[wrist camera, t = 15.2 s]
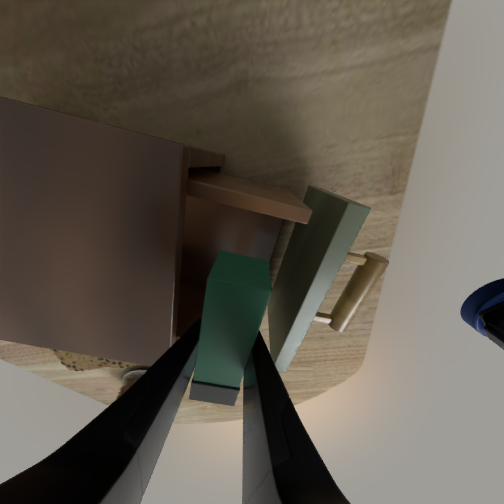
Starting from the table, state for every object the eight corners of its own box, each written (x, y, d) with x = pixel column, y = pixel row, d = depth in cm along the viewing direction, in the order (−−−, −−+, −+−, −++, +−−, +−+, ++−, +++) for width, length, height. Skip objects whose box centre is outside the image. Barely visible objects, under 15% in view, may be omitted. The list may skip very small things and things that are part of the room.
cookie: (140, 362, 29) (137, 368, 28) (72, 367, 30) (67, 373, 29) (103, 304, 24) (97, 309, 23) (22, 312, 25) (14, 317, 24)
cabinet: (225, 155, 16) (182, 144, 7) (205, 288, 22) (169, 370, 13) (34, 105, 15) (-295, 19, 6) (70, 260, 21) (-64, 329, 12)
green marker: (218, 249, 9) (205, 279, 6) (269, 260, 9) (273, 293, 7) (201, 355, 12) (188, 399, 10) (238, 362, 12) (234, 406, 10)
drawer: (372, 201, 16) (460, 230, 9) (315, 313, 22) (341, 383, 15) (152, 144, 15) (56, 127, 8) (153, 279, 21) (98, 339, 14)
